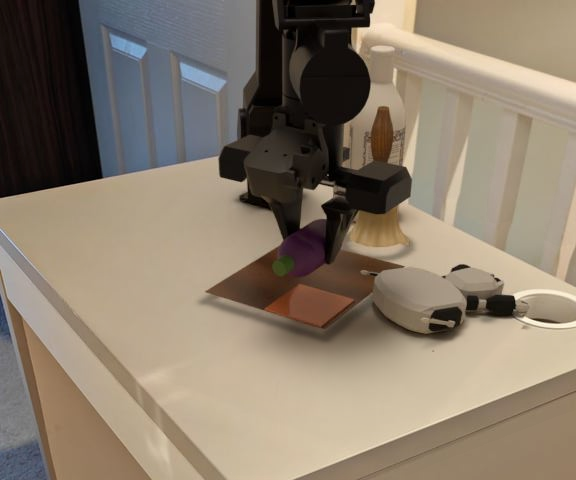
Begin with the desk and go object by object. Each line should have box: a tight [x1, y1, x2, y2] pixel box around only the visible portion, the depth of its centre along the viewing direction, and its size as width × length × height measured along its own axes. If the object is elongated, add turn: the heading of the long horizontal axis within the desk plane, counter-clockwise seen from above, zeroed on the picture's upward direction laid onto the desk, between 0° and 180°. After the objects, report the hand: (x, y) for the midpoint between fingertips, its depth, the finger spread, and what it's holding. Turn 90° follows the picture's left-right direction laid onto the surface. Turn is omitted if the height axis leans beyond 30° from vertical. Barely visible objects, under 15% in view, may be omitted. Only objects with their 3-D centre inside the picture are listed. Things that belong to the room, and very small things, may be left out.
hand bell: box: [348, 106, 410, 248], centre depth 98 cm, size 8×8×16 cm
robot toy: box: [360, 263, 530, 335], centre depth 88 cm, size 12×4×15 cm
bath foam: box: [347, 45, 407, 223], centre depth 104 cm, size 7×7×20 cm
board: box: [204, 245, 406, 330], centre depth 94 cm, size 18×16×1 cm
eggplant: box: [273, 218, 343, 278], centre depth 84 cm, size 10×4×4 cm, turn 147°
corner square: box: [264, 284, 355, 328], centre depth 88 cm, size 7×7×1 cm
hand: (310, 258), depth 85 cm, fingers closed on eggplant, 4 cm apart
